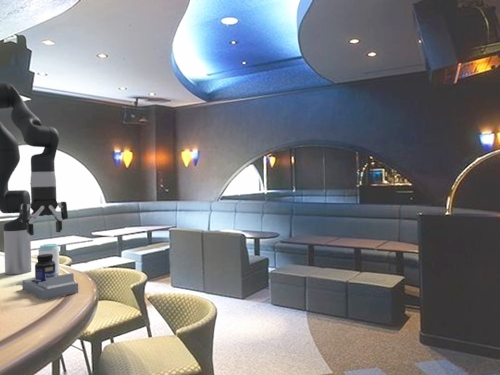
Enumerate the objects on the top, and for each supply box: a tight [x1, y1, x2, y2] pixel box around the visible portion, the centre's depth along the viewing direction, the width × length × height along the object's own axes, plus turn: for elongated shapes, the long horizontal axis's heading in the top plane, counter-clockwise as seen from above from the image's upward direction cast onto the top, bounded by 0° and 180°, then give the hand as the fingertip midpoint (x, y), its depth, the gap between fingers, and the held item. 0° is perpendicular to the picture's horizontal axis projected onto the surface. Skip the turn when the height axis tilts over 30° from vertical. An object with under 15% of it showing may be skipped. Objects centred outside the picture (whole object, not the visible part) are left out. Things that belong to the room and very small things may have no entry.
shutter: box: [38, 272, 75, 289], centre depth 125 cm, size 8×8×3 cm
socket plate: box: [21, 274, 79, 301], centre depth 129 cm, size 19×11×3 cm, turn 46°
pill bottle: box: [34, 254, 56, 284], centre depth 132 cm, size 6×6×11 cm
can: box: [38, 243, 61, 276], centre depth 151 cm, size 7×7×12 cm
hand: (45, 233), depth 132 cm, fingers open, 8 cm apart
